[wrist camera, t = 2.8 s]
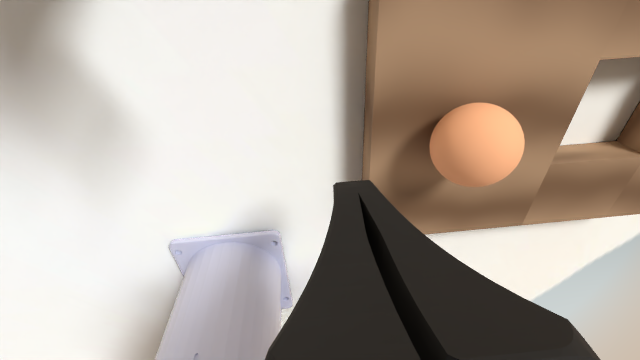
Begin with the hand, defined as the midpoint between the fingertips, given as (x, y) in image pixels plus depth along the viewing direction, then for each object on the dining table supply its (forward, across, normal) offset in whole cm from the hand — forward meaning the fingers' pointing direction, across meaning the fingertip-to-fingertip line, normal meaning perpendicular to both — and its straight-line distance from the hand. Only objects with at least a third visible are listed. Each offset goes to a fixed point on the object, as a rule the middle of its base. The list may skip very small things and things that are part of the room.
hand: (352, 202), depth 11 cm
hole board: (+8, -12, 0) cm, 14 cm away
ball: (+3, -6, 0) cm, 7 cm away
